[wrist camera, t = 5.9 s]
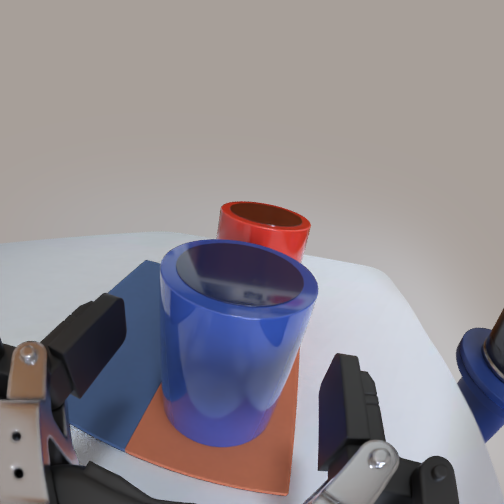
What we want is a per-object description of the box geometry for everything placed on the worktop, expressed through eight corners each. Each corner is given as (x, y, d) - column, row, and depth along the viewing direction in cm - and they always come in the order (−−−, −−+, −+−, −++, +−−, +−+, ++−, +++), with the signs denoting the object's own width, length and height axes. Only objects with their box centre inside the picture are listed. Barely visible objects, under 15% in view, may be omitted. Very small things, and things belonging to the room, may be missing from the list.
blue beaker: (277, 376, 17) (315, 256, 14) (264, 458, 11) (323, 335, 8) (183, 353, 18) (193, 228, 14) (145, 425, 12) (129, 285, 9)
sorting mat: (300, 300, 27) (301, 297, 27) (286, 496, 10) (288, 493, 10) (145, 263, 28) (146, 259, 28) (17, 387, 11) (14, 383, 11)
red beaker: (285, 304, 25) (309, 212, 22) (280, 349, 20) (313, 238, 16) (218, 288, 26) (232, 196, 23) (196, 328, 20) (209, 214, 17)
